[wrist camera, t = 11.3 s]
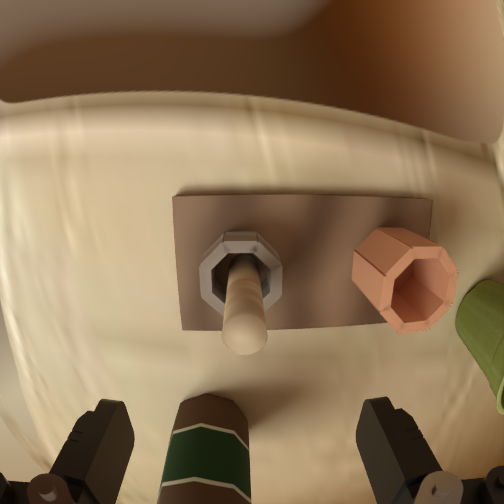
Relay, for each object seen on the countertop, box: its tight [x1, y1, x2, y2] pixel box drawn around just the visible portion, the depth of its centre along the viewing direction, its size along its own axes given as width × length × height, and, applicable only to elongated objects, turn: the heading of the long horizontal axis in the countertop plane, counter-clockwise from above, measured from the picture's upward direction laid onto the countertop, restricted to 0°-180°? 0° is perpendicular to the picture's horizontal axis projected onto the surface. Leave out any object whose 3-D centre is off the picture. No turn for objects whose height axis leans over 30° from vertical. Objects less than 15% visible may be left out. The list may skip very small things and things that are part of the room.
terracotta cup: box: [352, 227, 458, 333], centre depth 22 cm, size 6×6×6 cm
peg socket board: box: [172, 194, 433, 331], centre depth 24 cm, size 21×11×4 cm, turn 90°
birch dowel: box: [222, 254, 267, 355], centre depth 20 cm, size 2×2×10 cm
